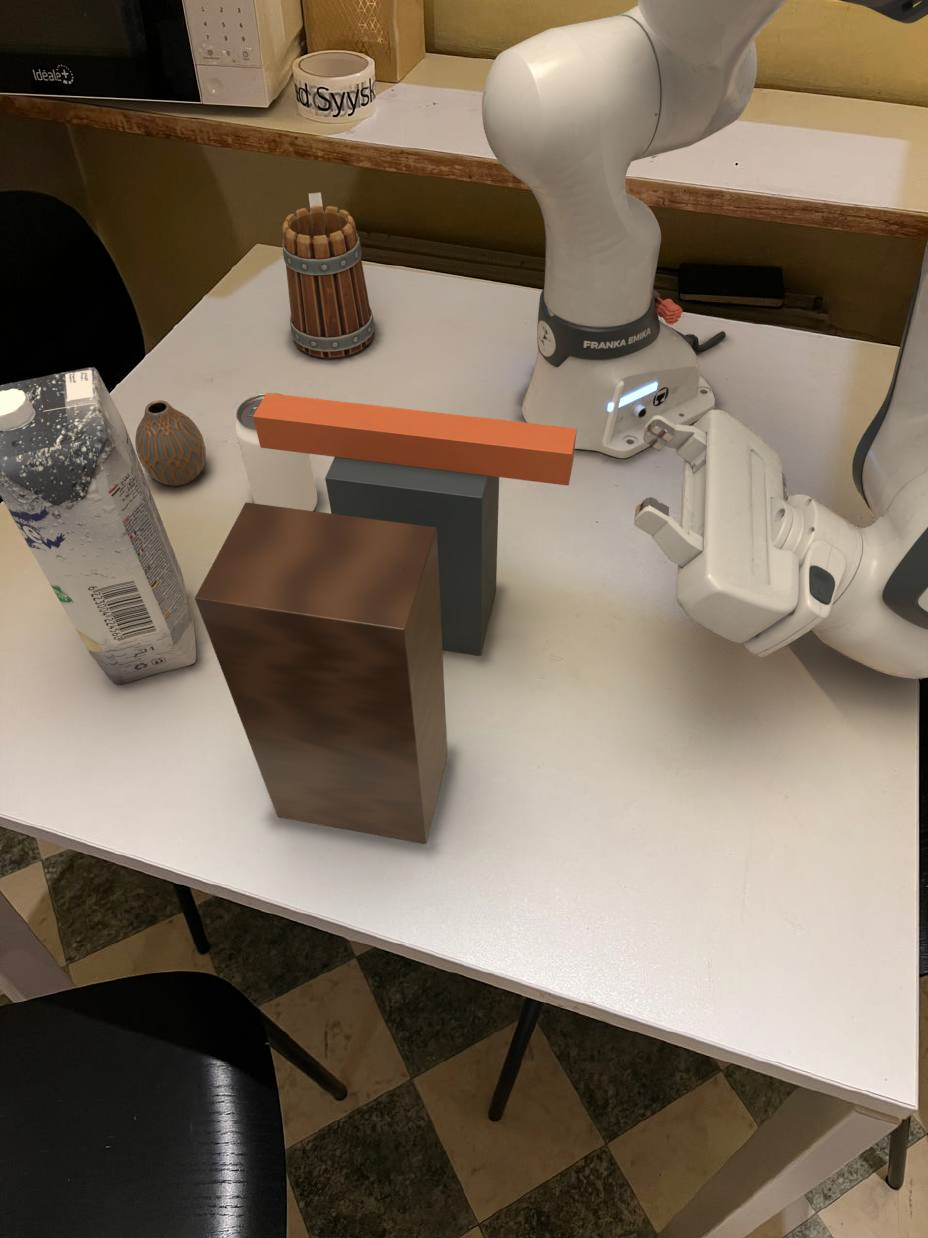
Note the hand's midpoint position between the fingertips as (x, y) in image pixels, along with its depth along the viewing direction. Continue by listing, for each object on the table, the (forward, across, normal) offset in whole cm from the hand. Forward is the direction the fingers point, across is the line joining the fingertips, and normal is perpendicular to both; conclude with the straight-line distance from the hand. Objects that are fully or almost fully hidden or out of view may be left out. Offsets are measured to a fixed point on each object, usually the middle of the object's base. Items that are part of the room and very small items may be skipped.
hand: (644, 465), depth 63 cm
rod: (+14, 0, +10) cm, 17 cm away
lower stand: (+5, 0, +26) cm, 27 cm away
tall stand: (+5, +18, +27) cm, 33 cm away
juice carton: (+26, +8, +38) cm, 47 cm away
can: (+20, -12, +35) cm, 42 cm away
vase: (+32, -14, +42) cm, 54 cm away
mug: (+25, -46, +38) cm, 64 cm away
